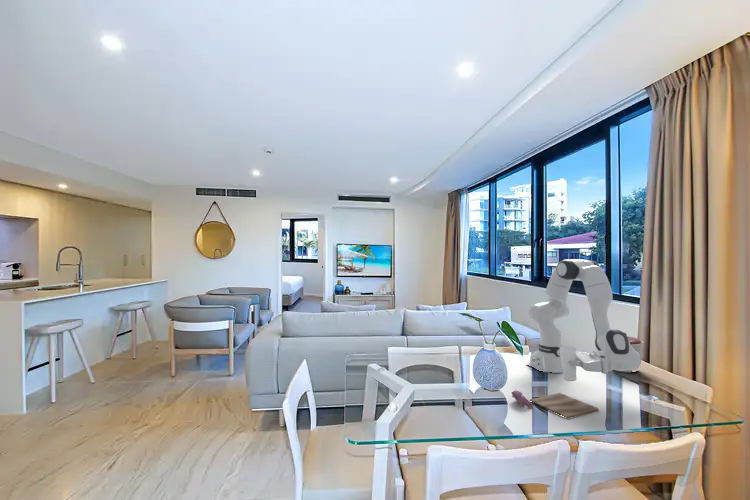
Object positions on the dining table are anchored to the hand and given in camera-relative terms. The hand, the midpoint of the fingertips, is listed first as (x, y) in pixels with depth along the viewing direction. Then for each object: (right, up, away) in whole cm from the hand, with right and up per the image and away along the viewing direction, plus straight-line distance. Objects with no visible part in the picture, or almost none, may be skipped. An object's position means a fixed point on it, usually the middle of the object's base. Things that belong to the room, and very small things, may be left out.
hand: (566, 360), depth 169 cm
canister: (+50, -16, +33) cm, 62 cm away
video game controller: (-23, -18, -5) cm, 30 cm away
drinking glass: (+1, -9, -1) cm, 9 cm away
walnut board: (-6, -17, -9) cm, 21 cm away
